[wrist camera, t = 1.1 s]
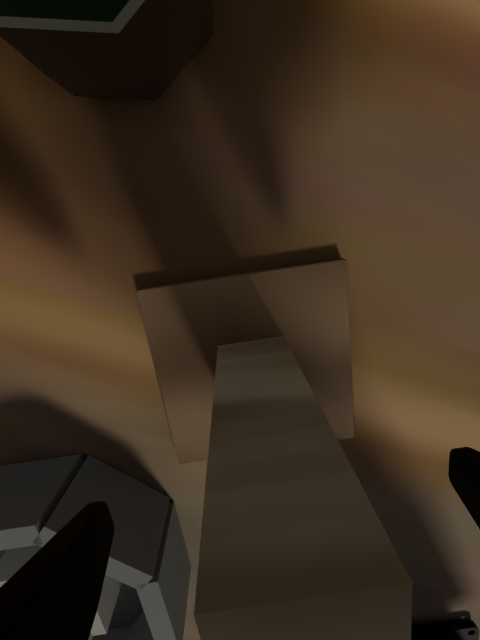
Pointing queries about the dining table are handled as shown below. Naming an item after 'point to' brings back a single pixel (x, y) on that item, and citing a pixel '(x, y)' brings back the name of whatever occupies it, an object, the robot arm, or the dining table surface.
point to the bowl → (127, 547)
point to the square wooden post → (288, 516)
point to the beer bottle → (108, 41)
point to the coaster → (249, 339)
